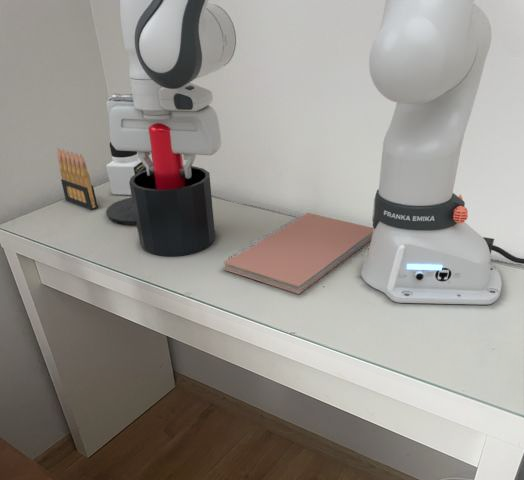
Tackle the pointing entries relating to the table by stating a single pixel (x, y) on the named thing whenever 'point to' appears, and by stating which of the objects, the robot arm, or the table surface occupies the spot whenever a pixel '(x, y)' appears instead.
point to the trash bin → (174, 214)
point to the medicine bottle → (123, 170)
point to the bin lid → (122, 212)
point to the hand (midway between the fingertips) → (169, 176)
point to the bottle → (165, 158)
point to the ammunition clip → (76, 180)
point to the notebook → (299, 251)
